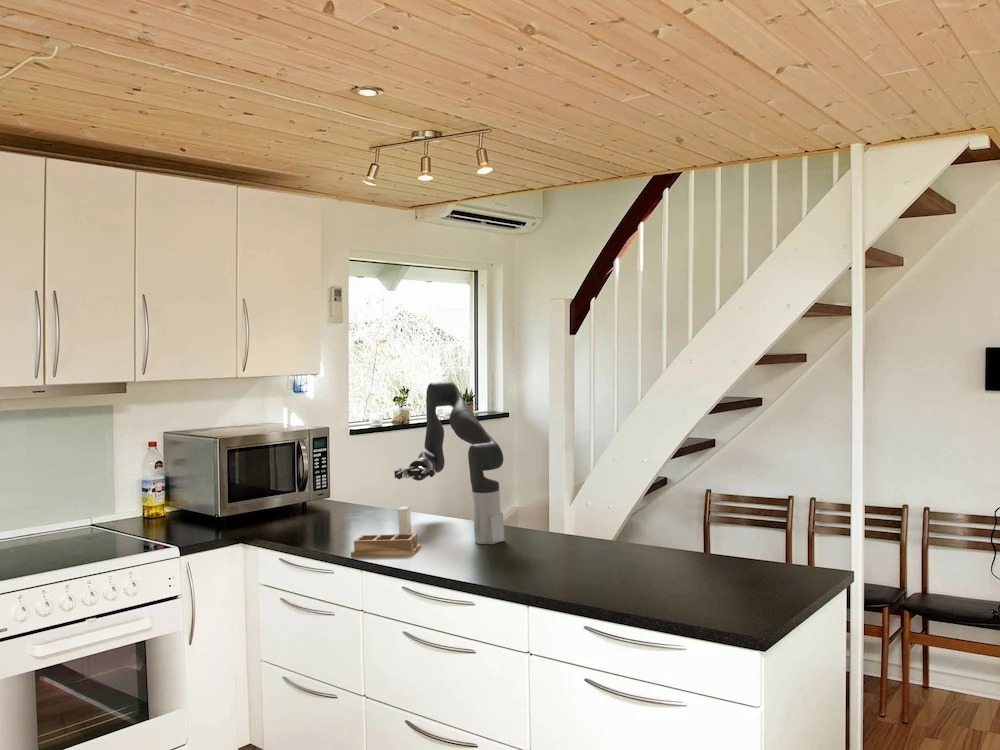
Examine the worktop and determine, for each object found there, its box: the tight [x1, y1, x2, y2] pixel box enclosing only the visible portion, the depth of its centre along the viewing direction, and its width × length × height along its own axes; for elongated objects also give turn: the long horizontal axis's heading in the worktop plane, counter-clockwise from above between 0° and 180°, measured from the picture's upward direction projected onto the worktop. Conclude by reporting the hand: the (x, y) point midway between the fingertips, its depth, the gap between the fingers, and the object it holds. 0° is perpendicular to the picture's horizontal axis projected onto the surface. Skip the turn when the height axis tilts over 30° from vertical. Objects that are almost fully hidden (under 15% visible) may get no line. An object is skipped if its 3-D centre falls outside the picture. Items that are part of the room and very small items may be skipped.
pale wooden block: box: [397, 506, 412, 534], centre depth 295 cm, size 4×3×12 cm, turn 172°
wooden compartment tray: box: [350, 533, 422, 557], centre depth 283 cm, size 10×21×5 cm, turn 81°
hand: (410, 476), depth 305 cm, fingers open, 8 cm apart
